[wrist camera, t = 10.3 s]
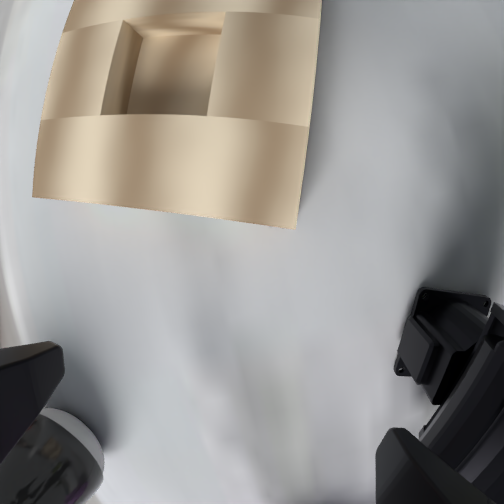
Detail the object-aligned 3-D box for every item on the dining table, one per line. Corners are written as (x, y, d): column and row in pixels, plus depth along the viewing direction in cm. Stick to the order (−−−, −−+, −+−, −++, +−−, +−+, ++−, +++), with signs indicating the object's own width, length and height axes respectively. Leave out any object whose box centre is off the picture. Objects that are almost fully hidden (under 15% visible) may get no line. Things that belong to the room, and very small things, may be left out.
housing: (319, -7, 15) (324, -41, 12) (293, 221, 19) (295, 229, 15) (108, 0, 17) (83, -22, 13) (68, 194, 20) (32, 197, 16)
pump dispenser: (25, 387, 25) (-62, 462, 10) (92, 398, 24) (-4, 509, 9) (63, 456, 27) (1, 534, 12) (132, 472, 25) (74, 577, 11)
